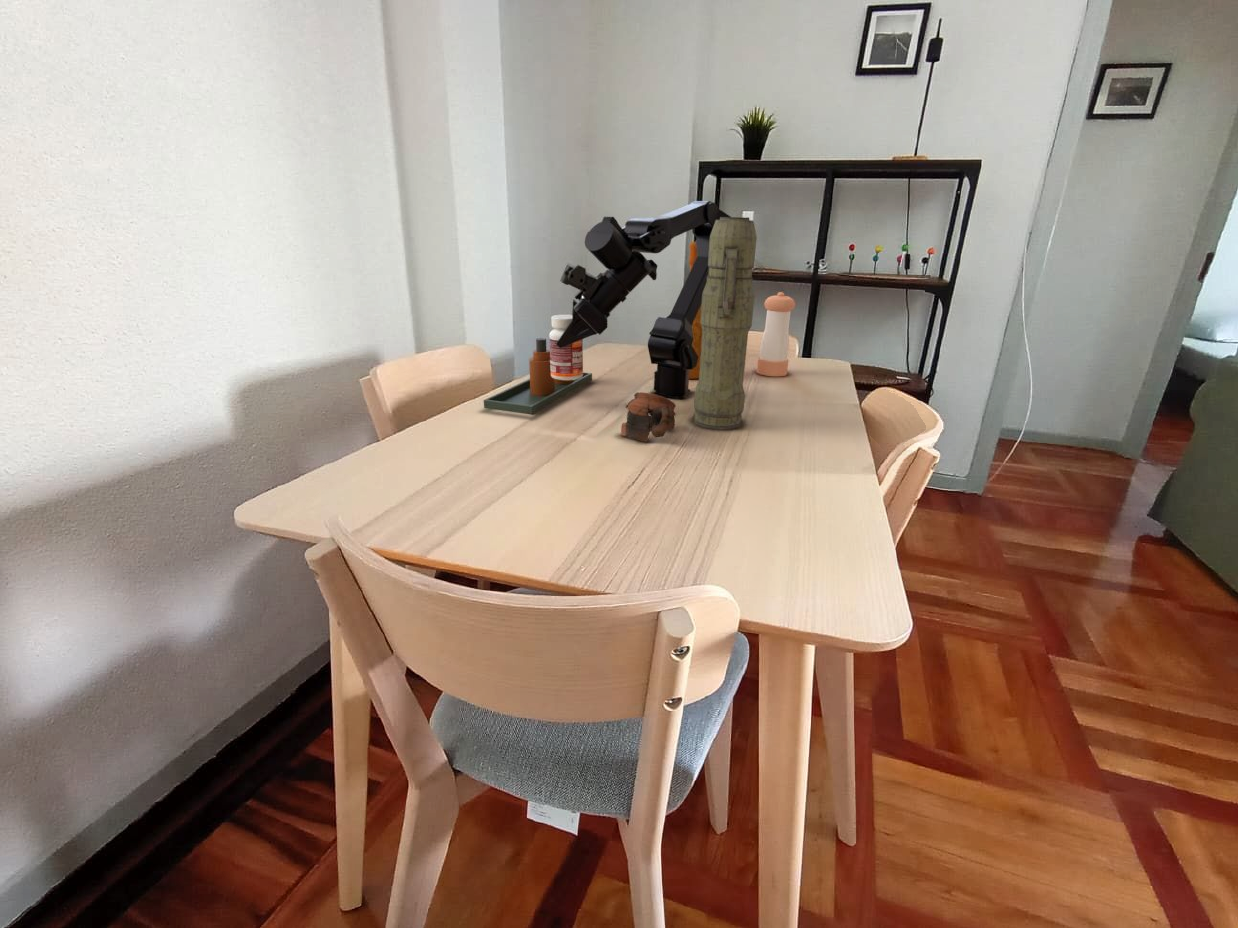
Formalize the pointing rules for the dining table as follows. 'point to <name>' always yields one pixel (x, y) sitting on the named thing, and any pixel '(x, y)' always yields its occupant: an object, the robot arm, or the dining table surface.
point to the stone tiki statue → (725, 324)
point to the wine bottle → (695, 322)
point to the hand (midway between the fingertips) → (558, 342)
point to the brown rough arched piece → (642, 422)
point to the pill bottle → (564, 352)
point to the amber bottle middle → (541, 370)
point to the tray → (531, 397)
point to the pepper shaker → (775, 336)
